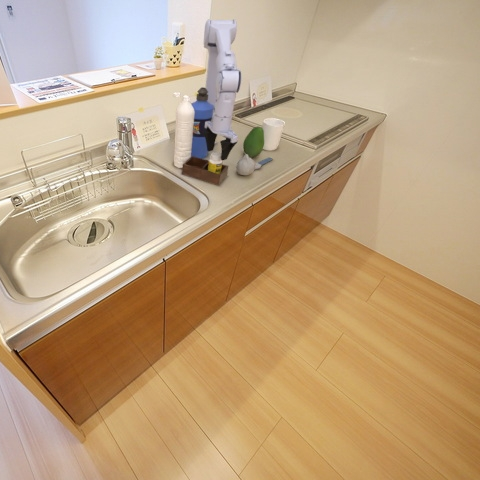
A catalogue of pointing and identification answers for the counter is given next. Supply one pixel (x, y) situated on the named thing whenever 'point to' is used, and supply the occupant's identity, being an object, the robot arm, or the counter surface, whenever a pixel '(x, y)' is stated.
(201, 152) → the water bottle
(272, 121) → the mug
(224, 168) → the crate
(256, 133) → the fruit
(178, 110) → the water bottle
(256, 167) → the wristwatch
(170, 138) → the counter surface
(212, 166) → the supplement bottle
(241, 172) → the figurine
